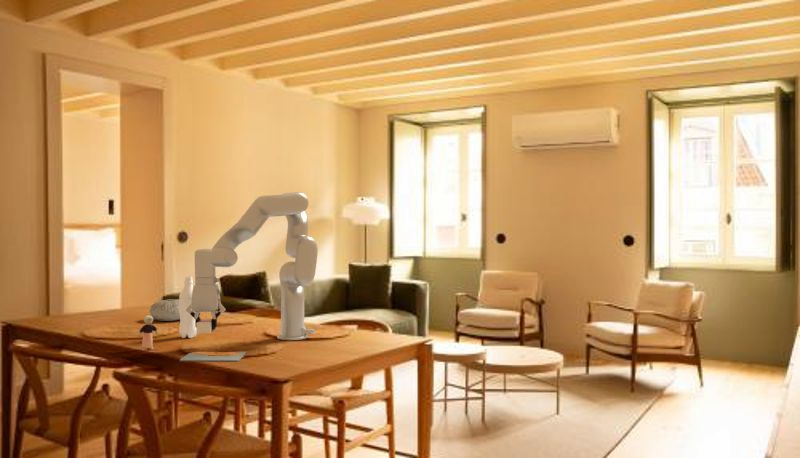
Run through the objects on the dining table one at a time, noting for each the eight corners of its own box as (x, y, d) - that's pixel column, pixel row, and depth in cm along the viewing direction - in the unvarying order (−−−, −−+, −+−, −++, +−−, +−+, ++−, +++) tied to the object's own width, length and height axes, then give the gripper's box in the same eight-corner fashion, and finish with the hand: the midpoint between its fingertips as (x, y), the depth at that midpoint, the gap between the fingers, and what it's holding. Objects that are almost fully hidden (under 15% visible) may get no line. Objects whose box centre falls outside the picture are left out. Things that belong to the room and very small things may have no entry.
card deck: (215, 329, 248) (215, 319, 248) (209, 333, 240) (209, 322, 240) (202, 329, 248) (202, 319, 248) (196, 333, 240) (196, 322, 240)
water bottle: (191, 339, 262) (192, 277, 261) (175, 338, 263) (175, 277, 263) (200, 336, 269) (200, 276, 268) (184, 335, 270) (185, 275, 270)
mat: (246, 353, 235) (246, 351, 235) (237, 361, 221) (237, 360, 221) (192, 352, 235) (192, 351, 235) (179, 361, 221) (179, 359, 221)
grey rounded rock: (143, 322, 301) (143, 301, 301) (157, 317, 319) (157, 297, 319) (181, 323, 302) (181, 301, 301) (193, 317, 319) (193, 297, 319)
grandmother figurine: (142, 351, 236) (143, 317, 236) (136, 350, 238) (136, 316, 238) (160, 348, 243) (160, 314, 243) (154, 347, 245) (154, 313, 245)
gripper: (230, 280, 248) (231, 327, 248) (185, 280, 247) (186, 327, 248) (225, 282, 240) (226, 330, 241) (179, 282, 240) (180, 331, 240)
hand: (206, 328), depth 244 cm, fingers closed on card deck, 4 cm apart
